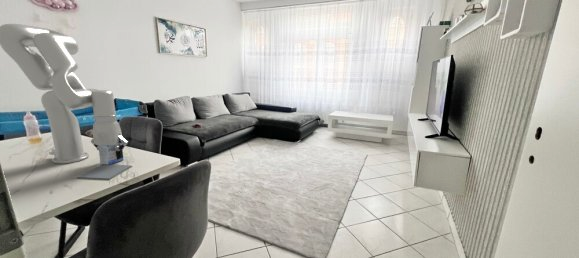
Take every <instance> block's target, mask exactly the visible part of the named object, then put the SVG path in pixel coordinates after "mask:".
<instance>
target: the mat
mask: <svg viewBox="0 0 579 258" xmlns="http://www.w3.org/2000/svg"><path fill="white" fill-rule="evenodd" d="M132 167H133V165H129V164H128V165H127V164H110V165H107V164H99V165H98V166H96V167H94V168H92V169H90V170H87V171H86V172H84V173H81V174H79V175H77V176H76V179H85V180H86V179H87V180H103V181H104V180H105V181H106V180H107V181H108V180H109V181H110V180H112V179H113V178H115V177H116V176H119V175H120V174H122V173H124V172H126V171H128V170H129V169H131V168H132Z"/></svg>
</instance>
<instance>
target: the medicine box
mask: <svg viewBox="0 0 579 258" xmlns="http://www.w3.org/2000/svg"><path fill="white" fill-rule="evenodd" d="M121 144H122V143H121ZM98 146H99V150H98V156H99V165H102V164H107V165H114V164H115V163H118V162H122V161H123V160H124V157H123V158H121V159H119V160H117V158H116V151H117V150H116V148H115V147H114V146H108V145H98ZM118 147H119V146H118ZM122 151H123V152H124V149H122Z"/></svg>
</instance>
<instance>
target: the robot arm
mask: <svg viewBox="0 0 579 258" xmlns="http://www.w3.org/2000/svg"><path fill="white" fill-rule="evenodd" d="M0 47H1V49H2V50H3V51H4V52H5V53H6V54H7V55H8V57H10V59H12V60H13V61H14V62H15V63H16V64H17V65H18V68H20V70H21V71H22V73H23V74H24V75H25V76H26V77H27V79H28V80H29V82H30V83H31V84H32V85H33V87H35V88H36V89H38V90H40V91H46V92H45V93H43V94H42V95H41V99H40V100H41V105H42V107H43V108H44V110H45V113H46V116H47V119H48V123H49V128H50V132H51V133H50V134H51V137H52V141H53V146H54V148H53V149H52V150H51V151H49V153H48V154H49V155H51V156H54V157H53V158H52V159H51V162H52V163H54V164H57V165H58V164H71V163H76V162H80V161H83V160H85V159H88V157H90V154H89V153H88V152H85V150H84V146H83V141H82V135H81V129H80V128H81V127H80V123H79V122H80V121H79V119H78V118H77V116H76V115H75V114H74V113H73V112H72V111H76V110H81V109H82V110H83V109H86V108H90V107H91V108H92V110H93V116H92V119H93V120H94V122H93V125H92V139H91V140H90V143H91V144H92V145H93V146H94V147H95V148H96V150H97V151H99V146H98V145H108V146H114V147H115V148H116V150H117V151H116V158H117V160H119V159H121V158H123V159H124V148H125V147H126V146H127V145H128V143H129V141H128V140H126V139H125V138H124V137H123V134H122V128H121V126H120V123H119V122H118V120H117V113H116V105H115V98H114V93H113V91H112V90H108V89H101V90H100V89H97V88H86V87H85V86H84V84H83V83H82V81H81V80H80V79H79V77H78V75H76V73H74V72H76V71H77V69H78V68H79V65H78V63H77V62H76V60H75V59H74V58H73V55H75V54H78V52H79V45H78V43H77V41H76V40H75V39H74V38H73V37H71V36H70V35H67V34H64V33H61V32H58V31H56V30H52V29H50V28H45V27H39V26H33V25H26V24H19V23H4V24H2V25H0ZM31 47H33V48H36V49H37V50H38V52H39V53H40V54H39V53H38V52H37V51H34V50H33V49H31ZM121 143H122V144H121ZM118 146H119V147H118ZM122 149H123V151H122Z"/></svg>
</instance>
